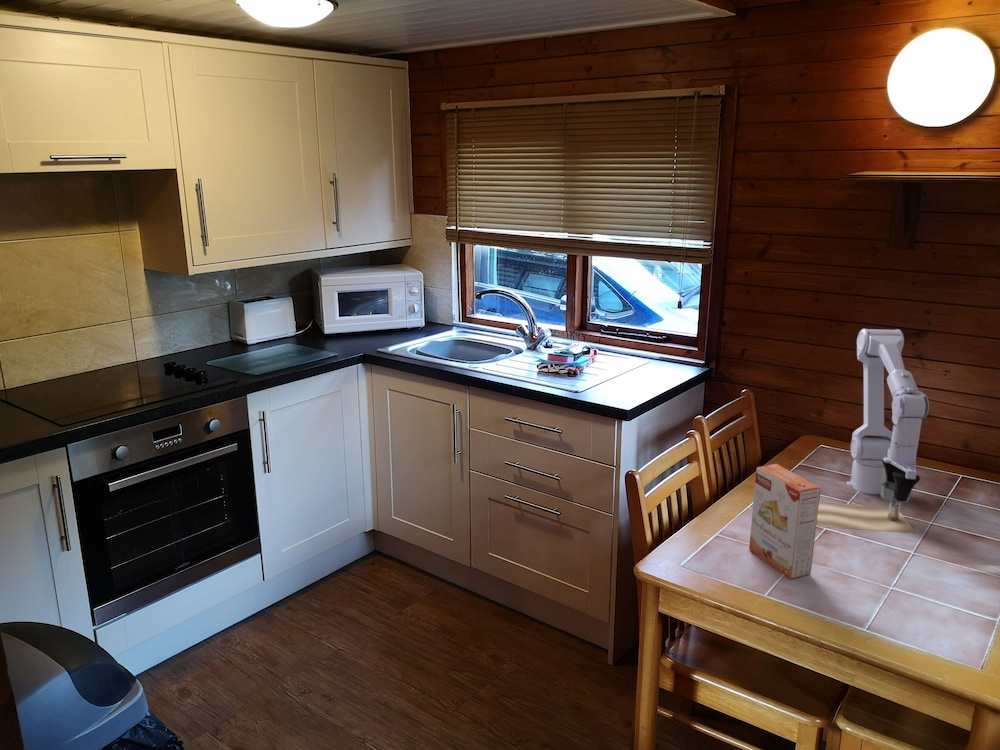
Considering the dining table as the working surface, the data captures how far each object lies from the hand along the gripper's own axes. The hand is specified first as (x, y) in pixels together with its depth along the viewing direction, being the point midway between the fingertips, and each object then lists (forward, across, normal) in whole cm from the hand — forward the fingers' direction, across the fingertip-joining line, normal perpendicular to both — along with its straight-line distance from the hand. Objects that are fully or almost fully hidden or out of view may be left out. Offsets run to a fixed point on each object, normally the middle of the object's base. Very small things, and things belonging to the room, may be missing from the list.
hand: (896, 494), depth 188 cm
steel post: (+6, 0, 0) cm, 6 cm away
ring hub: (+1, 0, 0) cm, 1 cm away
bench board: (+8, 0, -8) cm, 11 cm away
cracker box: (+8, +24, -31) cm, 40 cm away
